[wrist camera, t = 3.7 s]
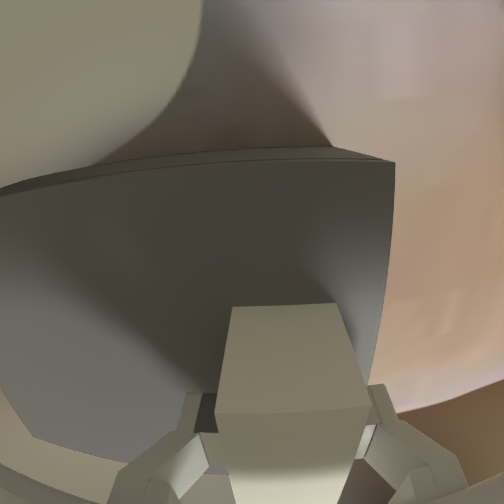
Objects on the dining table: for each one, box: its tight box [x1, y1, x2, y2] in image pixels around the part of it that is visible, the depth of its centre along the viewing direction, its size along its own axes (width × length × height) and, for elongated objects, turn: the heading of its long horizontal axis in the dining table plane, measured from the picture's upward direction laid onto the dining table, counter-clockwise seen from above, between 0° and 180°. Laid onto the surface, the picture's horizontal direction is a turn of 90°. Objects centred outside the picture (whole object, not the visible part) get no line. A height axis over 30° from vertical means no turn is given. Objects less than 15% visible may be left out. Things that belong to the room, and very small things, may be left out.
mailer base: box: [0, 147, 383, 195], centre depth 15 cm, size 14×18×7 cm
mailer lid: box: [0, 159, 395, 504], centre depth 9 cm, size 14×18×5 cm
